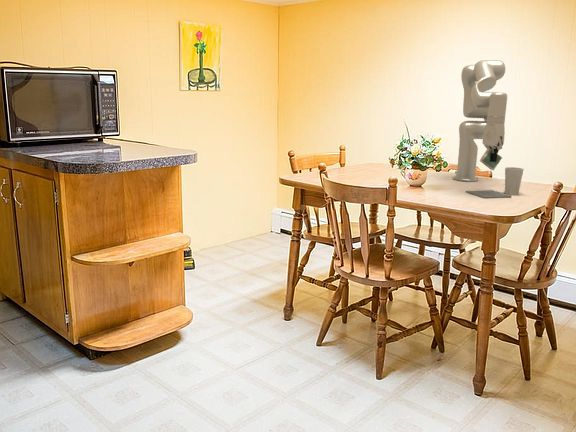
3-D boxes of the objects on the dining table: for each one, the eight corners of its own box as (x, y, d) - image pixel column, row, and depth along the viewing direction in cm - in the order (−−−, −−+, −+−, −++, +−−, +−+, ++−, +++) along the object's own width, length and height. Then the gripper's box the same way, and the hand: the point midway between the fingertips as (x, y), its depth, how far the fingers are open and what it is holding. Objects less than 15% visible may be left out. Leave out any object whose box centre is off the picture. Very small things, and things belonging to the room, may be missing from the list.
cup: (508, 195, 247) (511, 169, 244) (499, 192, 254) (501, 167, 252) (524, 195, 248) (527, 169, 246) (513, 191, 256) (516, 167, 253)
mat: (465, 192, 253) (465, 190, 253) (491, 191, 256) (491, 190, 256) (484, 198, 239) (484, 197, 239) (511, 197, 242) (511, 196, 242)
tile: (479, 160, 243) (488, 147, 243) (491, 169, 246) (499, 157, 246) (481, 161, 242) (490, 148, 241) (493, 170, 244) (502, 157, 244)
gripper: (478, 119, 246) (474, 159, 250) (499, 121, 232) (494, 163, 236) (492, 119, 248) (488, 159, 252) (514, 121, 233) (509, 163, 237)
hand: (491, 161), depth 244 cm, fingers closed on tile, 1 cm apart
